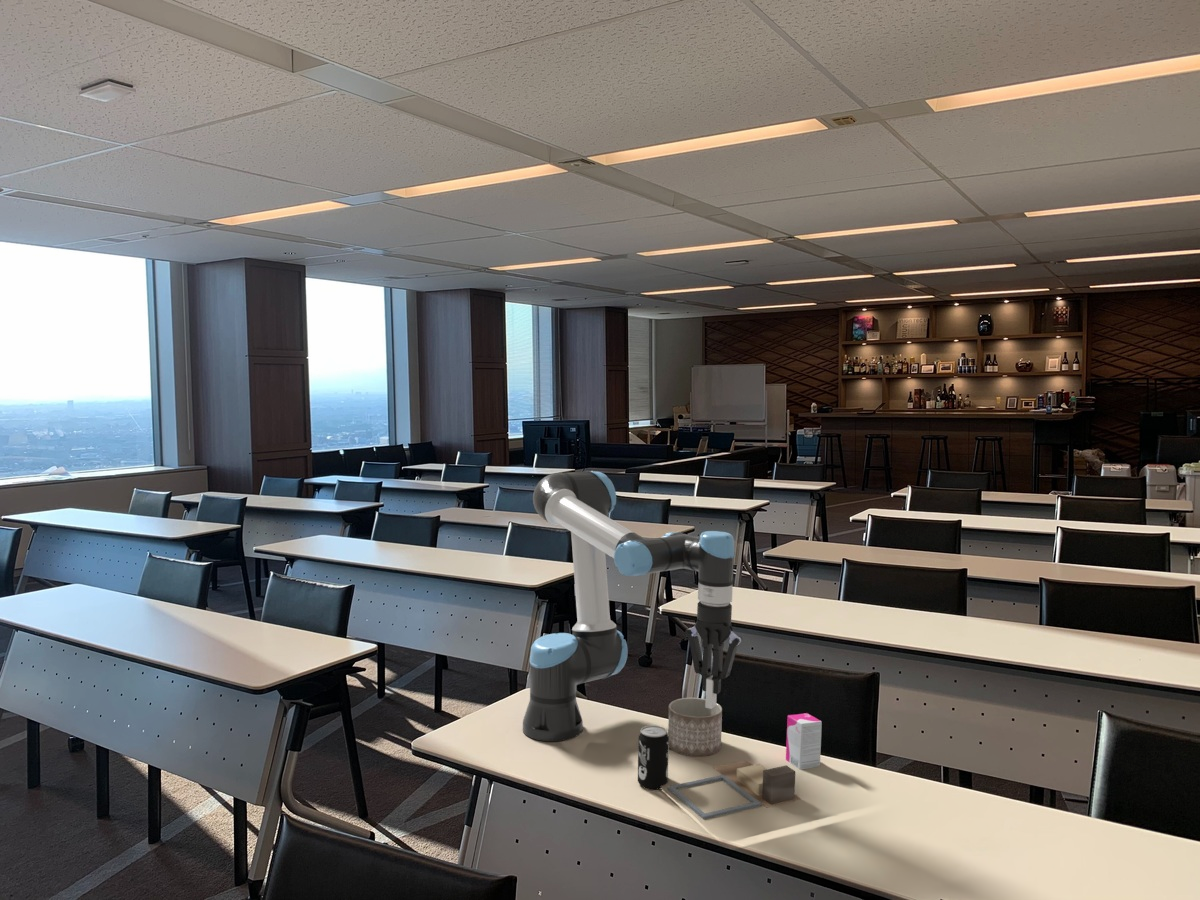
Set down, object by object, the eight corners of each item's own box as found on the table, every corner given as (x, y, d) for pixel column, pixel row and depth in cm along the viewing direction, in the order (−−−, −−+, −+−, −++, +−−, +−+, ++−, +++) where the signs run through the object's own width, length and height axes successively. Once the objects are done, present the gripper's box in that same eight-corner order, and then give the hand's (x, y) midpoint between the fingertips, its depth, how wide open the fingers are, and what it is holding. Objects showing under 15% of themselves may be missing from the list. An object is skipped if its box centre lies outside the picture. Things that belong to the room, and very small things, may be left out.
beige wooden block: (736, 779, 183) (736, 768, 183) (759, 774, 186) (759, 763, 186) (758, 795, 176) (758, 784, 176) (781, 790, 179) (781, 779, 178)
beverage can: (665, 792, 179) (666, 738, 178) (635, 789, 180) (636, 735, 179) (669, 779, 185) (670, 726, 184) (640, 775, 186) (641, 723, 186)
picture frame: (668, 793, 179) (668, 786, 178) (723, 781, 184) (723, 774, 184) (703, 824, 166) (703, 816, 166) (761, 810, 172) (761, 803, 172)
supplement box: (821, 770, 191) (822, 721, 190) (799, 774, 189) (800, 724, 188) (805, 759, 196) (807, 711, 196) (784, 763, 194) (786, 715, 193)
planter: (723, 742, 206) (724, 700, 205) (717, 763, 193) (718, 719, 193) (672, 736, 209) (673, 695, 208) (663, 757, 197) (664, 713, 196)
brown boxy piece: (712, 771, 189) (713, 741, 189) (745, 764, 193) (746, 735, 193) (766, 811, 171) (767, 778, 171) (801, 803, 175) (802, 770, 175)
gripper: (680, 601, 185) (677, 705, 186) (736, 610, 178) (732, 718, 180) (694, 594, 191) (690, 694, 193) (748, 603, 184) (744, 707, 186)
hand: (710, 706), depth 186 cm, fingers closed
